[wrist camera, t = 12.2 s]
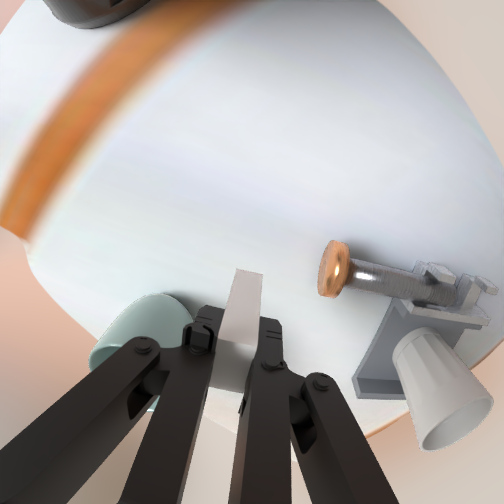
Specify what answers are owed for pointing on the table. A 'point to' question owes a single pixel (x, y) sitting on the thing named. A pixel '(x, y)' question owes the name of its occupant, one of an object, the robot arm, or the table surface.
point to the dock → (382, 347)
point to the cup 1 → (144, 327)
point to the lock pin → (378, 279)
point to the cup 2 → (439, 390)
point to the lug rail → (465, 297)
